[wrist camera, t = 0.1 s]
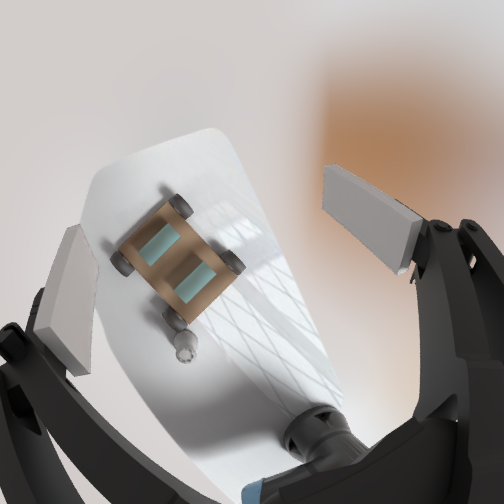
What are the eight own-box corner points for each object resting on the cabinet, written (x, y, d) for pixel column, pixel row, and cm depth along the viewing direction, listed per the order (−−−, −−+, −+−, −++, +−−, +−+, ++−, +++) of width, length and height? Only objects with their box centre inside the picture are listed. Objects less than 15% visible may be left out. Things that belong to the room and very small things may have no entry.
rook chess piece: (169, 347, 47) (167, 362, 39) (179, 325, 48) (178, 338, 40) (192, 356, 48) (194, 373, 40) (201, 335, 48) (204, 349, 41)
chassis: (244, 268, 51) (250, 269, 46) (181, 330, 48) (181, 336, 43) (176, 195, 48) (175, 189, 44) (112, 257, 45) (105, 257, 41)
